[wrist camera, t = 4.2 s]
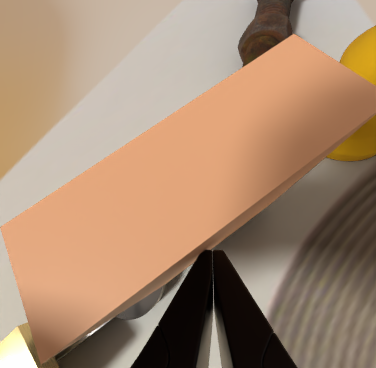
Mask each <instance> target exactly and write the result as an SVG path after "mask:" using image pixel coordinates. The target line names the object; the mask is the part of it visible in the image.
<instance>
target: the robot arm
mask: <svg viewBox="0 0 376 368" xmlns="http://www.w3.org/2000/svg"><path fill="white" fill-rule="evenodd" d="M213 284H214V311H215V320H216V327H217V335H218V342H219V350H220V357H221V364H222V368H297V366H296V365H295V363H294V362H293V360H292V359H291V357H290V356H289V354H288V353H287V351H286V349H285V348H284V346H283V345H282V343H281V342H280V340H279V338H278V337H277V335H276V334H275V333H273V332H274V331H273V329H272V327H271V326H270V324H269V323H268V321H267V319H266V318H265V316H264V315H263V313H262V311H261V310H260V308H259V307H258V305H257V303H256V302H255V300H254V299H253V297H252V295H251V294H250V292H249V291H248V289H247V287H246V286H245V284H244V283H243V281H242V279H241V278H240V276H239V275H238V273H237V271H236V270H235V268H234V267H233V265H232V263H231V262H230V260H229V259H228V257H227V255H226V254H225V252H224V251H223V250H213V263H212V250H204V251H203V252H201V253H200V254H199V255H198V257H197V259H196V260H195V262H194V264H193V266H192V267H191V269H190V271H189V272H188V274H187V276H186V277H185V279H184V281H183V283H182V284H181V286H180V288H179V289H178V291H177V293H176V294H175V296H174V298H173V300H172V301H171V303H170V305H169V306H168V308H167V310H166V311H165V313H164V315H163V317H162V318H161V320H160V322H159V323H158V325H159V326H156V328H155V330H154V332H153V333H152V335H151V337H150V338H149V340H148V342H147V343H146V345H145V346H144V348H143V349H142V351H141V353H140V354H139V356H138V357H137V359H136V360H135V362H134V363H133V364H132V366H131V367H130V368H208V366H209V355H210V343H211V332H212V321H213Z"/></svg>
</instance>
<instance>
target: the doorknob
mask: <svg viewBox="0 0 376 368" xmlns="http://www.w3.org/2000/svg"><path fill="white" fill-rule="evenodd" d="M339 63H341V64H342V65H344V66H345V67H347V68H349V69H350V70H352V71H353V72H355V73H356V74H358V75H359V76H361V77H363V78H364V79H366V80H367V81H369V82H370V83H372V84H374V85H375V86H376V26H374V27H372V28H370V29H369V30H367V31H366V32H364V33H363V34H361V35H360V36H358V37H357V38H356V39H355V40H354V41H353V42H352V43H351V44H350V45H349V46H348V47H347V49H346V50H345V52H344V53H343V55H342V57H341V60H340V62H339ZM375 155H376V115H374V116H373V117H372V118H371V119H370V120H368V121H367V122H366V123H365V124H364V125H363V126H361V127H360V128H359V129H358V130H357V131H356V132H354V133H353V134H352V135H351V136H350V137H349V138H347V139H346V140H345V141H344V142H343V143H342V144H340V145H339V146H338V147H337V148H336V149H335V150H333V151H332V152H331V153H330V154H329V155H328V156H326V157H327V158H330V159H335V160H340V161H358V160H363V159H367V158H370V157H373V156H375Z"/></svg>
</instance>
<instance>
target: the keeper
mask: <svg viewBox="0 0 376 368" xmlns="http://www.w3.org/2000/svg"><path fill="white" fill-rule="evenodd" d="M0 368H60V367H59V365H58V363H57V361H56V359H55V357H54V356H53V357H52V358H50V359H49V360H47V361H46V362H44V363H43V364H41V363H40V360H39V357H38V353H37V350H36V346H35V343H34V340H33V336H32V333H31V330H30V326H29V323H25V324H22V325H20V326H17V327H16V328H15V329H14V330H13V331H12V332H11V333H10V334H9V335H8V336H7V337H6V338H5V339H4V340H3V341H1V342H0Z"/></svg>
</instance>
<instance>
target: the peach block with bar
mask: <svg viewBox="0 0 376 368" xmlns="http://www.w3.org/2000/svg"><path fill="white" fill-rule="evenodd" d="M374 115H376V86H375V85H374V84H372V83H370V82H369V81H367V80H366V79H364V78H363V77H361V76H359V75H358V74H356V73H355V72H353V71H352V70H350V69H349V68H347V67H345V66H344V65H342V64H341V63H339V62H338V61H336V60H334V59H333V58H331V57H330V56H328V55H327V54H325V53H324V52H322V51H320V50H319V49H317V48H316V47H314V46H313V45H311V44H309V43H308V42H306V41H305V40H303V39H302V38H300V37H299V36H297V35H295V34H293V35H291V36H290V37H288V38H287V39H285V40H284V41H282V42H281V43H279V44H278V45H276V46H275V47H273V48H272V49H270V50H268V51H267V52H265V53H264V54H262V55H261V56H259V57H258V58H256V59H255V60H253V61H252V62H250V63H249V64H247V65H246V66H244V67H243V68H241V69H240V70H238V71H237V72H235V73H234V74H232V75H231V76H229V77H227V78H226V79H224V80H223V81H221V82H220V83H218V84H217V85H215V86H214V87H212V88H211V89H209V90H208V91H206V92H205V93H203V94H202V95H200V96H199V97H197V98H196V99H194V100H193V101H191V102H190V103H188V104H187V105H185V106H183V107H182V108H180V109H179V110H177V111H176V112H174V113H173V114H171V115H170V116H168V117H167V118H165V119H164V120H162V121H161V122H159V123H158V124H156V125H155V126H153V127H152V128H150V129H149V130H147V131H146V132H144V133H142V134H141V135H139V136H138V137H136V138H135V139H133V140H132V141H130V142H129V143H127V144H126V145H124V146H123V147H121V148H120V149H118V150H117V151H115V152H114V153H112V154H111V155H109V156H108V157H106V158H105V159H103V160H102V161H100V162H98V163H97V164H95V165H94V166H92V167H91V168H89V169H88V170H86V171H85V172H83V173H82V174H80V175H79V176H77V177H76V178H74V179H73V180H71V181H70V182H68V183H67V184H65V185H64V186H62V187H61V188H59V189H57V190H56V191H54V192H53V193H51V194H50V195H48V196H47V197H45V198H44V199H42V200H41V201H39V202H38V203H36V204H35V205H33V206H32V207H30V208H29V209H27V210H26V211H24V212H23V213H21V214H20V215H18V216H17V217H15V218H13V219H12V220H10V221H9V222H7V223H6V224H4V225H3V226H1V227H0V228H1V231H2V235H3V238H4V242H5V245H6V248H7V252H8V255H9V259H10V262H11V265H12V269H13V272H14V275H15V279H16V282H17V286H18V289H19V292H20V296H21V299H22V302H23V306H24V309H25V313H26V316H27V319H28V323H29V326H30V330H31V333H32V336H33V340H34V343H35V346H36V350H37V353H38V357H39V360H40V363H41V364H43V363H44V362H46V361H47V360H49V359H50V358H52V357H53V356H54V357H55V359H56V361H58V360H59V359H61V358H62V357H63V356H65V355H66V354H67V353H69V352H70V351H71V350H73V349H74V348H75V347H77V346H78V345H79V344H80V343H82V342H83V341H84V340H86V339H87V338H88V337H90V336H91V335H92V334H94V333H95V332H96V331H98V330H99V329H100V328H102V327H103V326H104V325H106V324H107V323H108V322H110V321H111V320H112V319H113V318H115V317H117V318H120V319H124V320H131V319H136V318H139V317H141V316H143V315H144V314H146V313H147V312H148V311H149V310H151V309H152V308H153V307H154V306H155V305H156V304H157V303H158V302H159V300H160V299H161V297H162V295H163V292H164V290H165V286H166V283H168V282H169V281H170V280H172V279H173V278H174V277H175V276H177V275H178V274H179V273H181V272H182V271H183V270H185V269H186V268H187V267H189V266H190V265H191V264H193V263H194V262H195V260H196V259H197V257H198V255H199V254H200V253H201V252H203V251H204V250H211V249H212V248H214V247H215V246H216V245H218V244H219V243H220V242H221V241H223V240H224V239H225V238H227V237H228V236H229V235H231V234H232V233H233V232H235V231H236V230H237V229H239V228H240V227H241V226H242V225H244V224H245V223H246V222H248V221H249V220H250V219H252V218H253V217H254V216H256V215H257V214H258V213H260V212H261V211H262V210H263V209H265V208H266V207H267V206H269V205H270V204H271V203H272V202H274V201H275V200H276V199H277V198H278V197H280V196H281V195H282V194H283V193H284V192H285V191H287V190H288V189H289V188H290V187H291V186H292V185H294V184H295V183H296V182H297V181H298V180H299V179H301V178H302V177H303V176H304V175H305V174H306V173H308V172H309V171H310V170H311V169H312V168H313V167H315V166H316V165H317V164H318V163H319V162H320V161H322V160H323V159H324V158H325V157H326V156H328V155H329V154H330V153H331V152H332V151H333V150H335V149H336V148H337V147H338V146H339V145H340V144H342V143H343V142H344V141H345V140H346V139H347V138H349V137H350V136H351V135H352V134H353V133H354V132H356V131H357V130H358V129H359V128H360V127H361V126H363V125H364V124H365V123H366V122H367V121H368V120H370V119H371V118H372V117H373V116H374Z"/></svg>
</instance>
